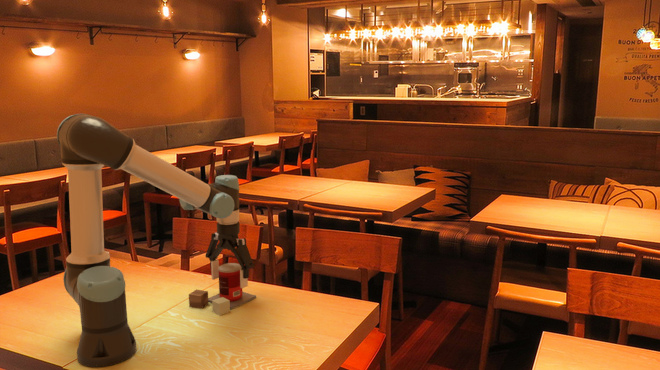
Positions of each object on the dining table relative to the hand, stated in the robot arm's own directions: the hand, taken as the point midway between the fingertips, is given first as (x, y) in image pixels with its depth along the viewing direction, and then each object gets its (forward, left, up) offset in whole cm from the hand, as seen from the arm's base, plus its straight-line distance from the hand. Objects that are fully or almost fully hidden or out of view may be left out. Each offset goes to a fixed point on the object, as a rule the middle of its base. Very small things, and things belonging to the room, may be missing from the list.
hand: (229, 282), depth 189 cm
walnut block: (-9, +5, -6) cm, 12 cm away
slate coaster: (0, 0, -6) cm, 6 cm away
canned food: (0, 0, -5) cm, 6 cm away
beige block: (-9, -5, -6) cm, 12 cm away
